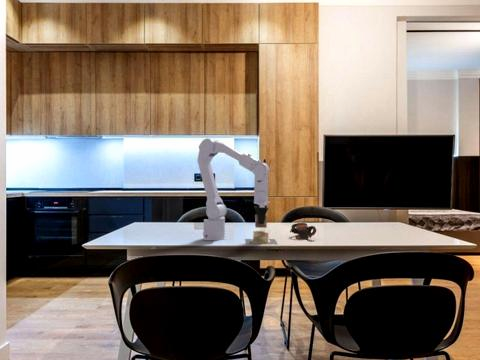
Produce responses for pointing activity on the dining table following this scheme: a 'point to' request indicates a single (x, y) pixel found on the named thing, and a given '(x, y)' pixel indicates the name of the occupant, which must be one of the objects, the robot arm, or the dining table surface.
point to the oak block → (260, 236)
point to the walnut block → (260, 224)
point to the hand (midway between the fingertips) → (260, 223)
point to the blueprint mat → (250, 241)
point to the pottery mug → (302, 230)
